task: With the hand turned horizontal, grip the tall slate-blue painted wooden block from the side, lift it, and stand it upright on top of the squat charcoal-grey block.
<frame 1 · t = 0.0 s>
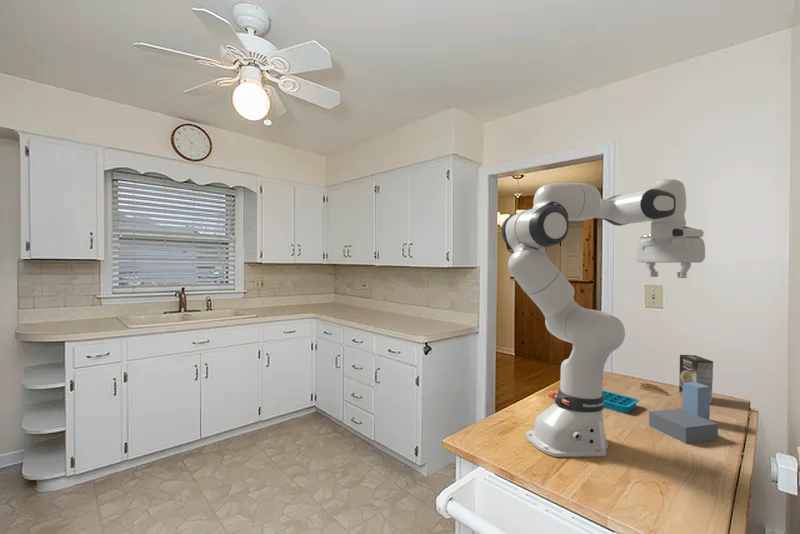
hand: (667, 277, 115), 48 cm above the counter, tool pointing down, fingers open, 8 cm apart
charcoal block: (682, 433, 114), on the counter
coffee box: (695, 399, 143), on the counter
shard: (654, 391, 154), on the counter
ice cube tray: (604, 404, 139), on the counter
slate-blue block: (695, 420, 123), on the counter
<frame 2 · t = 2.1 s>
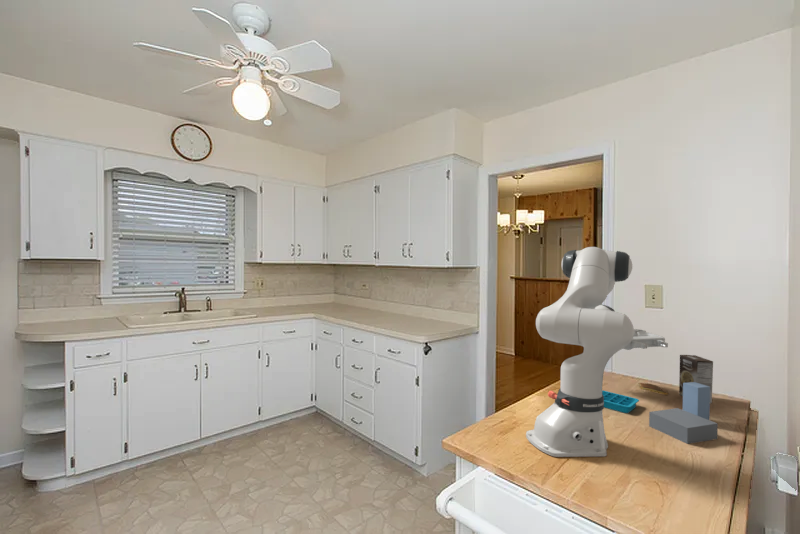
hand: (656, 345, 138), 22 cm above the counter, tool horizontal, fingers open, 8 cm apart
nothing on the counter moved.
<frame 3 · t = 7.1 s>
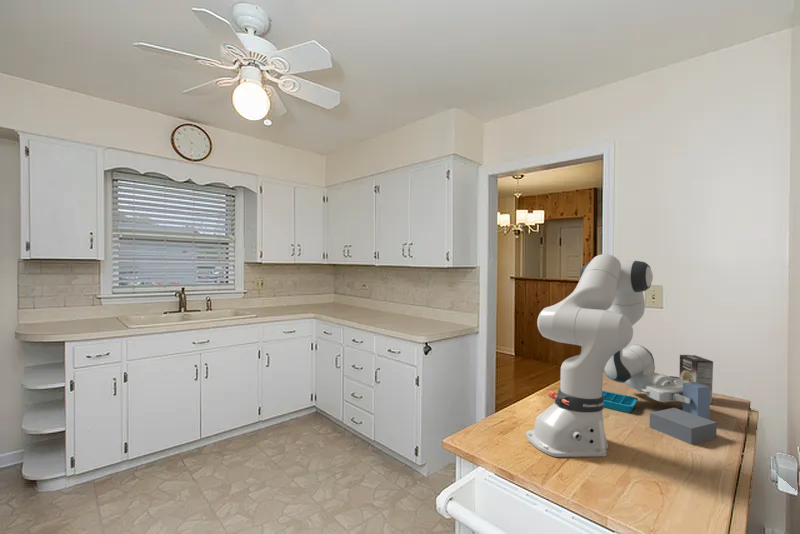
hand: (698, 400, 122), 7 cm above the counter, tool horizontal, fingers closed on slate-blue block, 5 cm apart
slate-blue block: (695, 420, 123), on the counter, touching gripper
when the fingers open (13 cm above the counter, at t = 13.8 s): slate-blue block drops 2 cm, resting on charcoal block.
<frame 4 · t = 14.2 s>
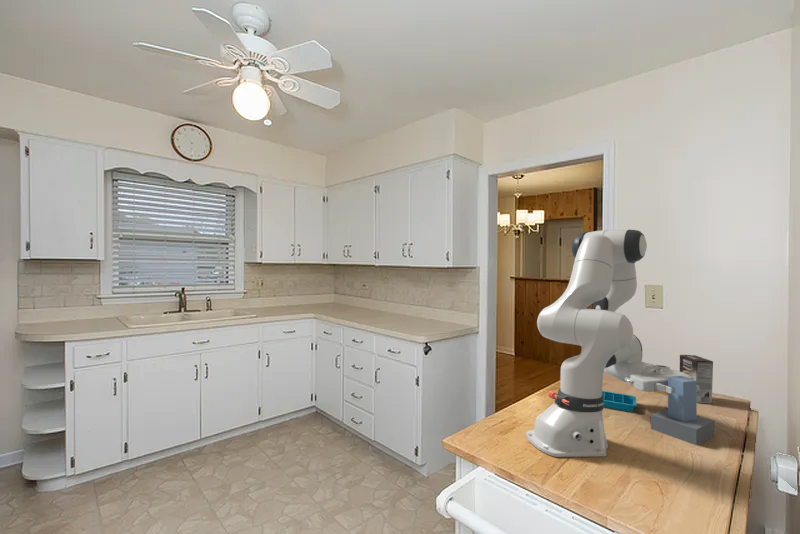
hand: (685, 389, 113), 13 cm above the counter, tool horizontal, fingers open, 8 cm apart
charcoal block: (681, 433, 114), on the counter, touching slate-blue block
slate-blue block: (681, 417, 114), point 5 cm above the counter, touching charcoal block
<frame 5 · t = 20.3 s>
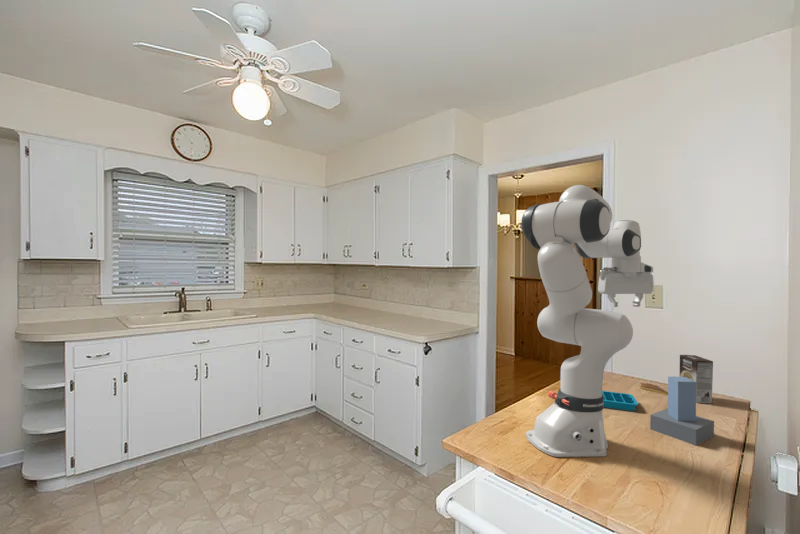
hand: (625, 306, 129), 37 cm above the counter, tool pointing down, fingers open, 8 cm apart
charcoal block: (681, 433, 114), on the counter
slate-blue block: (681, 417, 114), point 5 cm above the counter
at the end: slate-blue block 0.1 cm off-centre on the charcoal block, point 5.1 cm above the charcoal block's base; slate-blue block tilted 1°; the gripper is holding nothing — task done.
